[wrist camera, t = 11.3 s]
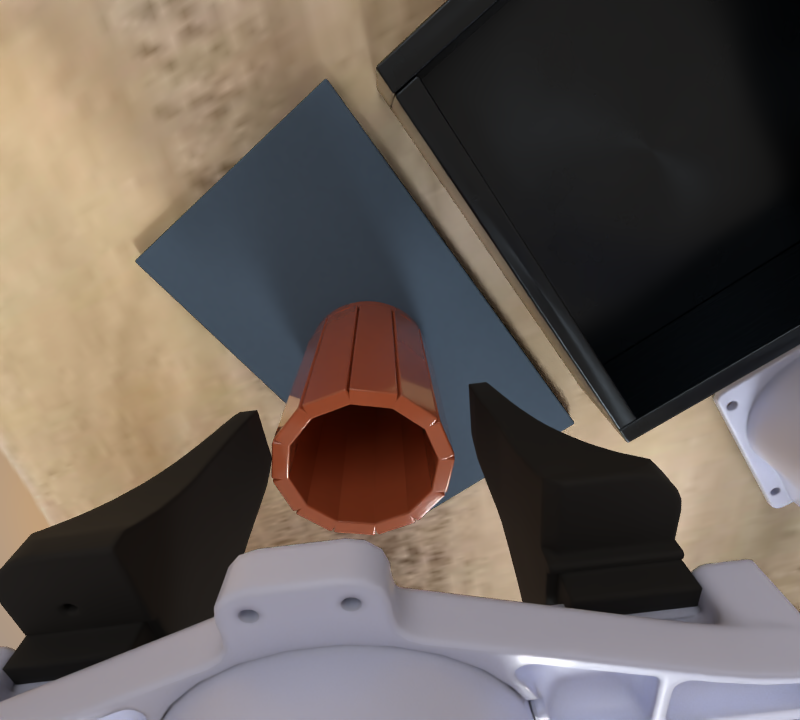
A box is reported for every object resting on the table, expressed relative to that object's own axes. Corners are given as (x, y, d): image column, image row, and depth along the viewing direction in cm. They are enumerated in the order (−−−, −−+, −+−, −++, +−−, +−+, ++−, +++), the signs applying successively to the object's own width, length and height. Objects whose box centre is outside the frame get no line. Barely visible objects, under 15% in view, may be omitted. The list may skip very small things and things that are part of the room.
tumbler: (451, 346, 19) (490, 453, 13) (380, 426, 21) (380, 557, 14) (355, 275, 18) (340, 354, 11) (286, 367, 20) (237, 484, 13)
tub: (875, 204, 18) (1018, 220, 14) (580, 387, 21) (627, 443, 17) (754, -260, 12) (937, -458, 8) (376, 87, 16) (375, 66, 12)
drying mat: (570, 416, 22) (575, 423, 21) (410, 513, 24) (411, 522, 24) (327, 80, 15) (325, 77, 15) (141, 258, 18) (133, 261, 17)
